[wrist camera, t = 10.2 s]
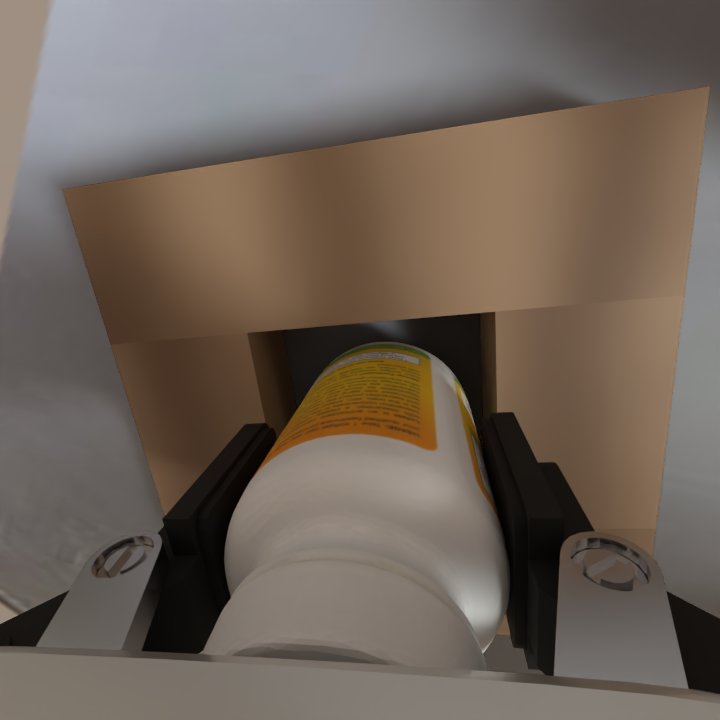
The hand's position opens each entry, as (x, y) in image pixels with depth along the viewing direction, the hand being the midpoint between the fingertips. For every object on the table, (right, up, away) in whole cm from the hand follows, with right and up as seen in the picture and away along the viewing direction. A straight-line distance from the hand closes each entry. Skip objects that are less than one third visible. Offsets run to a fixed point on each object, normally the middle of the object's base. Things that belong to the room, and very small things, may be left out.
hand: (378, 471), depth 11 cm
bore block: (0, +2, +5) cm, 5 cm away
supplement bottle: (+1, +1, +4) cm, 4 cm away
